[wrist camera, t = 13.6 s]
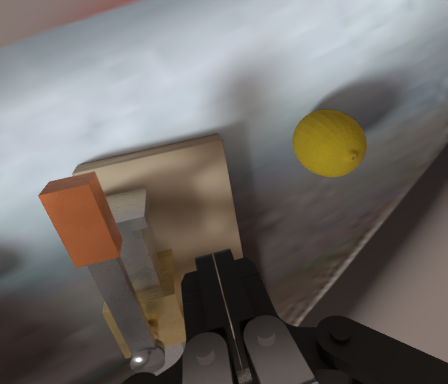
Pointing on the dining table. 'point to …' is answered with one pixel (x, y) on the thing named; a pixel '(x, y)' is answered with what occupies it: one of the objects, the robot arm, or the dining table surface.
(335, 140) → the lemon
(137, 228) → the pipe valve
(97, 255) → the valve lever
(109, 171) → the valve board
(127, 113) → the dining table surface
